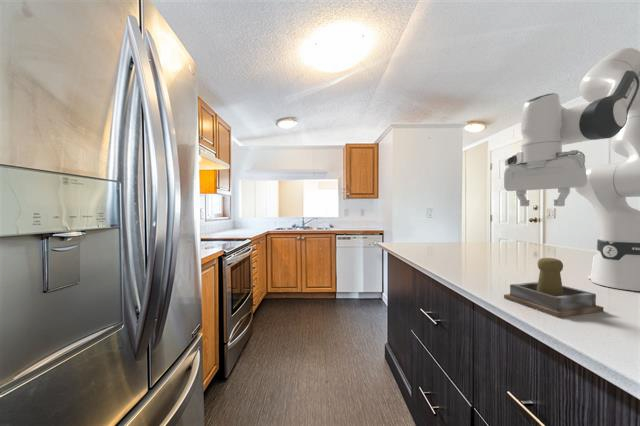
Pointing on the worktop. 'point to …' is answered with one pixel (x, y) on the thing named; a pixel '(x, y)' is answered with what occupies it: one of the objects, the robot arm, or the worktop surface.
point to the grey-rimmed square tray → (554, 300)
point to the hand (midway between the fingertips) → (541, 206)
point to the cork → (550, 276)
